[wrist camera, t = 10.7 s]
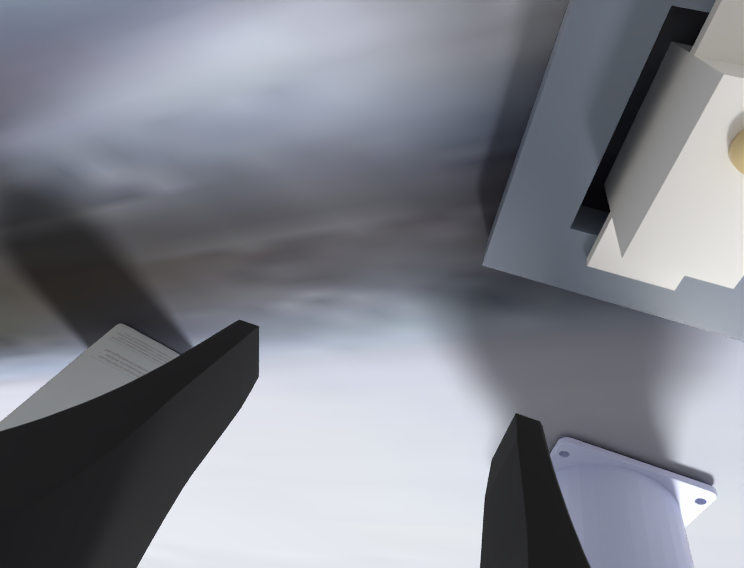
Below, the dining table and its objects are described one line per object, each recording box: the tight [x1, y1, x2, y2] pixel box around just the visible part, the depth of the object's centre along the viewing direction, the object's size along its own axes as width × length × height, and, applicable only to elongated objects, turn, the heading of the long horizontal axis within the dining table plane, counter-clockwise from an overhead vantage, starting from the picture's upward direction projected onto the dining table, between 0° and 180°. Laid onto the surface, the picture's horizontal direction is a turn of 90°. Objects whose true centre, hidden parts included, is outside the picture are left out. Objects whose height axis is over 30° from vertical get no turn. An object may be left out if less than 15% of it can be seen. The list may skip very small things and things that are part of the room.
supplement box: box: [0, 323, 180, 431], centre depth 29 cm, size 7×7×13 cm
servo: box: [586, 0, 744, 291], centre depth 14 cm, size 9×3×6 cm, turn 172°
